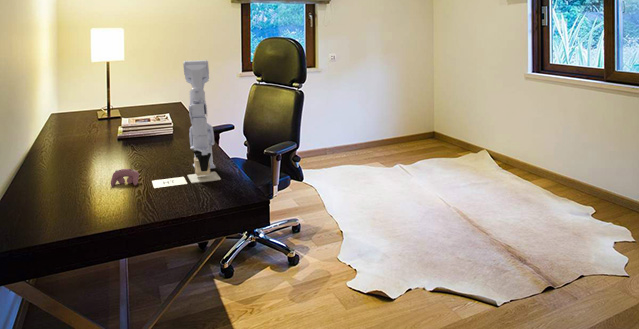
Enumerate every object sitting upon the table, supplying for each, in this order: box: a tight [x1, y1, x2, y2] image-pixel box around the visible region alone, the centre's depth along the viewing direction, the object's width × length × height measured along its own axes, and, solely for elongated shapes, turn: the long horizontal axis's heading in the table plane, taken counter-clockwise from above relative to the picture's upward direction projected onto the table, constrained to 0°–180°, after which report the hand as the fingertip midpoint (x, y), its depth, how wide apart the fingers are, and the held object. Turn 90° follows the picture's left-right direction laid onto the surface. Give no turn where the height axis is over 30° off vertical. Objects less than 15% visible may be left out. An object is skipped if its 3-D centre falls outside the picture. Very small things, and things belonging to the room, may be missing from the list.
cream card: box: [151, 176, 188, 189], centre depth 191 cm, size 10×12×1 cm
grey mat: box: [186, 171, 222, 184], centre depth 195 cm, size 11×11×1 cm
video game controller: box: [110, 168, 140, 187], centre depth 189 cm, size 10×5×7 cm, turn 93°
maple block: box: [193, 157, 211, 176], centre depth 194 cm, size 5×5×6 cm
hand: (203, 169), depth 194 cm, fingers closed on maple block, 5 cm apart
